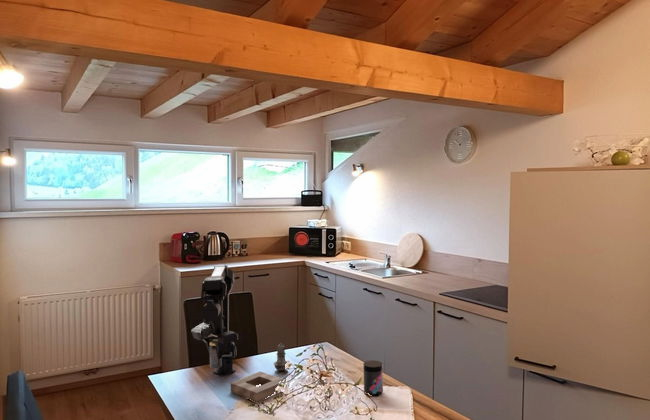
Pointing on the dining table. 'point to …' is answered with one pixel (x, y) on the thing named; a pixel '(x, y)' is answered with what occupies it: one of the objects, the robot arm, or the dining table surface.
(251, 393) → the holder block
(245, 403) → the dining table surface
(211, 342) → the battery cell
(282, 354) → the weathered candle holder
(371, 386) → the supplement container
